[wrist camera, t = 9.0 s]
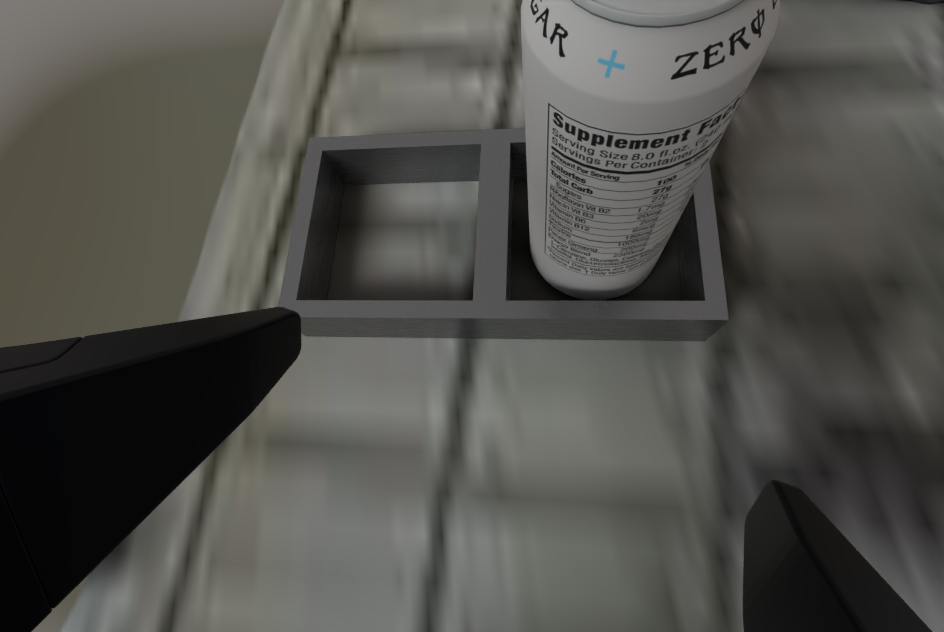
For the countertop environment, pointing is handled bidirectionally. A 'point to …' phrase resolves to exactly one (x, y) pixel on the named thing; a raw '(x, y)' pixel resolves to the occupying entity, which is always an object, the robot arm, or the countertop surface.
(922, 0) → the dark slate chunk
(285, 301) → the divided frame
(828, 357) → the countertop surface
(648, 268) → the energy drink can
